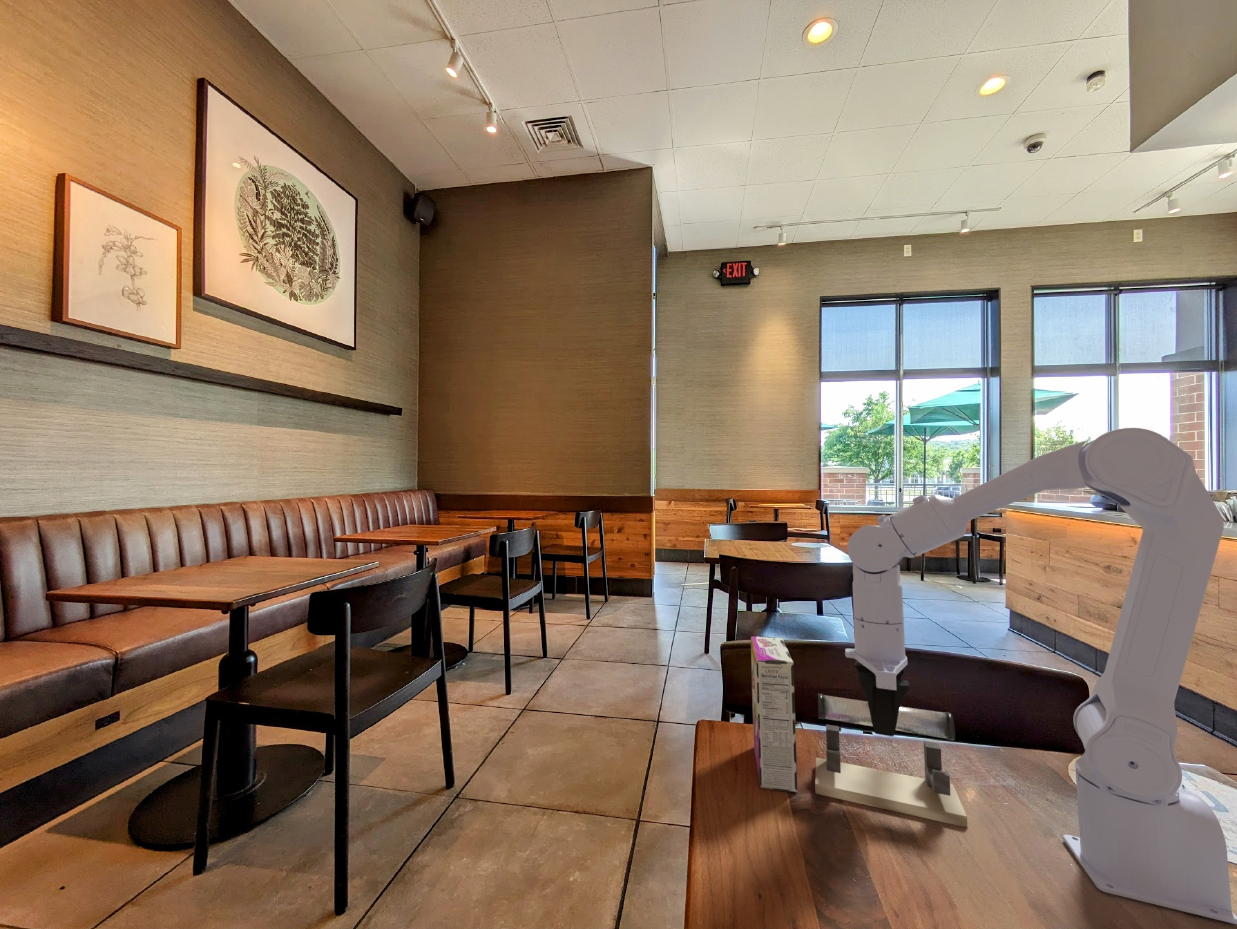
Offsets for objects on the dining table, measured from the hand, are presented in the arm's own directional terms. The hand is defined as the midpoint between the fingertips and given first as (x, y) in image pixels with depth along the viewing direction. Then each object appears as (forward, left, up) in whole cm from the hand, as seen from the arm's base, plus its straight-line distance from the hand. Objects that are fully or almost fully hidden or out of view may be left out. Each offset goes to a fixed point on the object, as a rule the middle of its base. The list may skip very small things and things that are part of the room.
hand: (882, 728), depth 61 cm
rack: (0, 0, -8) cm, 8 cm away
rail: (0, 0, +1) cm, 2 cm away
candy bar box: (+14, -1, -8) cm, 16 cm away
